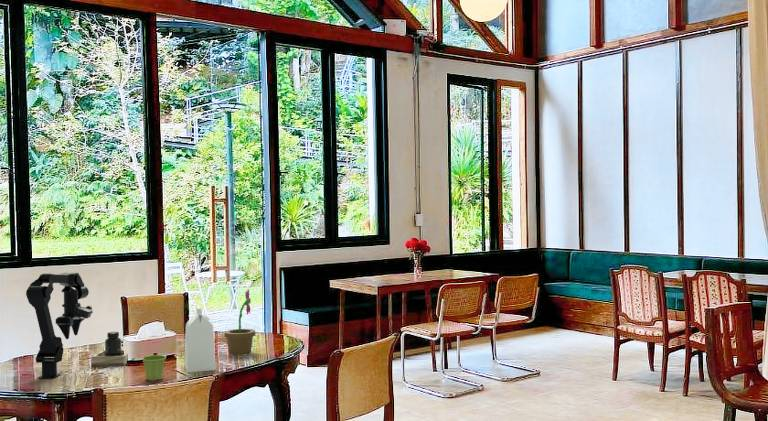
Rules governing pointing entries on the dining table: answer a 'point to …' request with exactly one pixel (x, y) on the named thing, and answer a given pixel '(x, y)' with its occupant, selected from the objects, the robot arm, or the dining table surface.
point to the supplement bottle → (113, 344)
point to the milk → (199, 343)
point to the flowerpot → (240, 334)
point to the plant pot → (154, 366)
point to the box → (109, 359)
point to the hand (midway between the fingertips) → (71, 337)
